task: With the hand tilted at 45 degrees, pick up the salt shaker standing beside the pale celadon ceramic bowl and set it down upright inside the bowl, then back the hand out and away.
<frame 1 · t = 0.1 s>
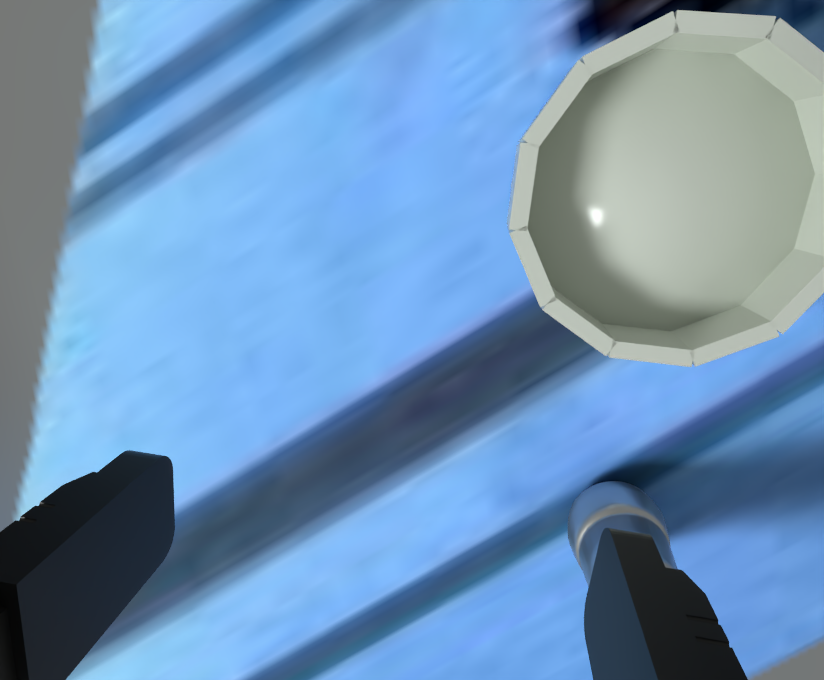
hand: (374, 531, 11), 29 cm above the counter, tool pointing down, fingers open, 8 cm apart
plastic bottle: (608, 509, 42), on the counter
bowl: (658, 198, 36), on the counter
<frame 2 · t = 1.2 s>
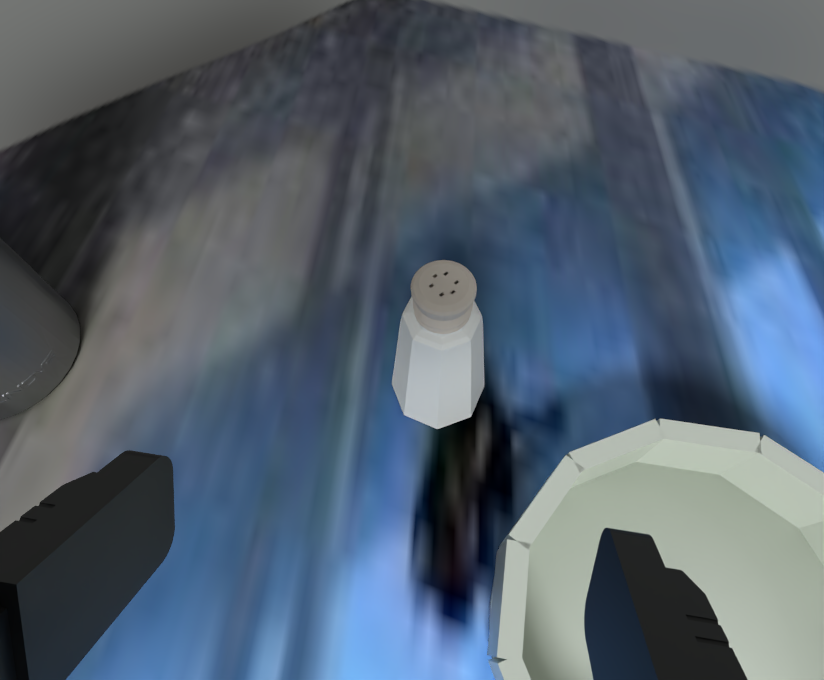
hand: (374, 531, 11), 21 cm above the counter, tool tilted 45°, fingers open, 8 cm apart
bowl: (676, 635, 28), on the counter
salt shaker: (437, 387, 34), on the counter
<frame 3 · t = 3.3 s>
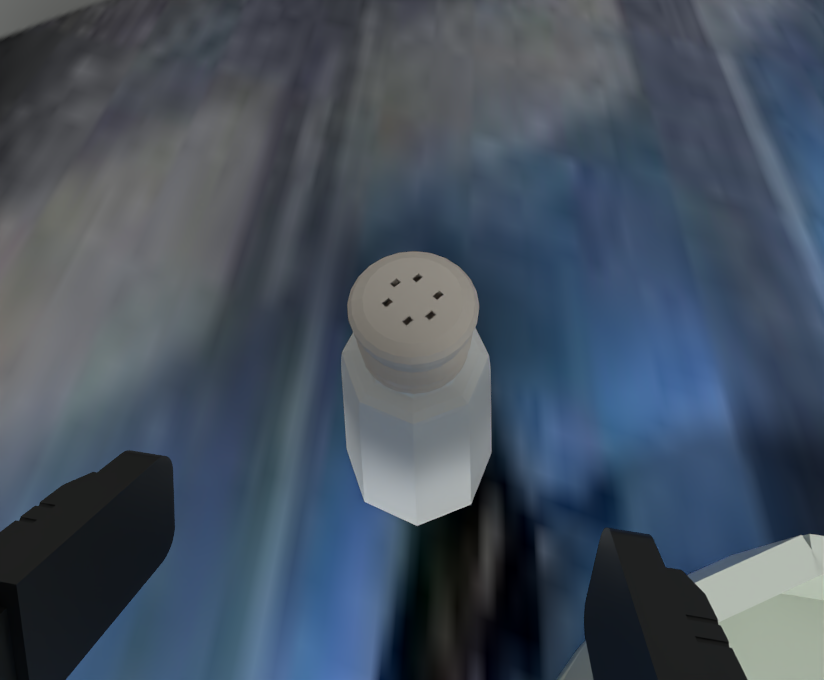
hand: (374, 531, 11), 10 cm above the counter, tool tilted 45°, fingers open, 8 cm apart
salt shaker: (418, 453, 22), on the counter
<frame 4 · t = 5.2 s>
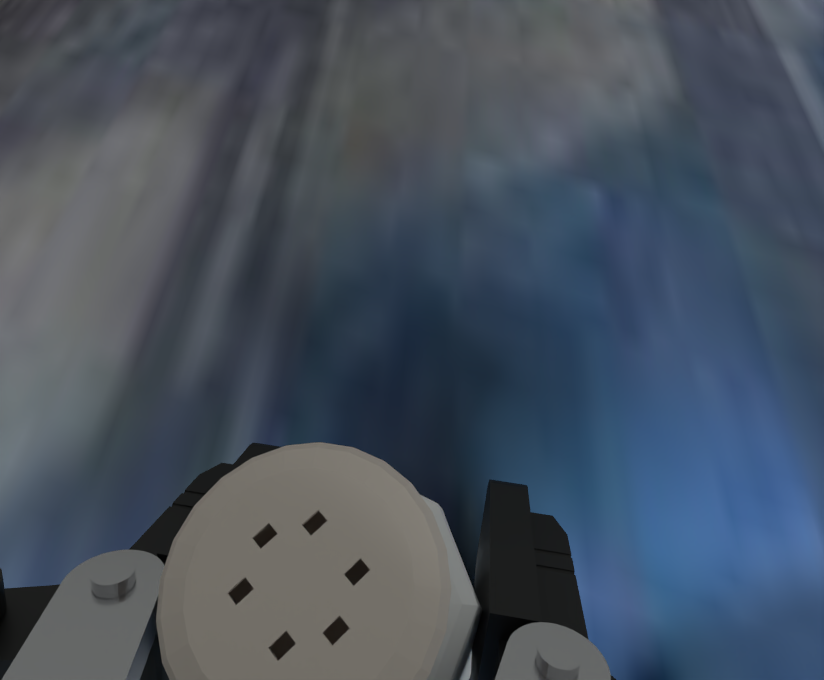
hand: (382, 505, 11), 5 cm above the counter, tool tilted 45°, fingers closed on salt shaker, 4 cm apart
salt shaker: (382, 622, 15), on the counter, touching gripper
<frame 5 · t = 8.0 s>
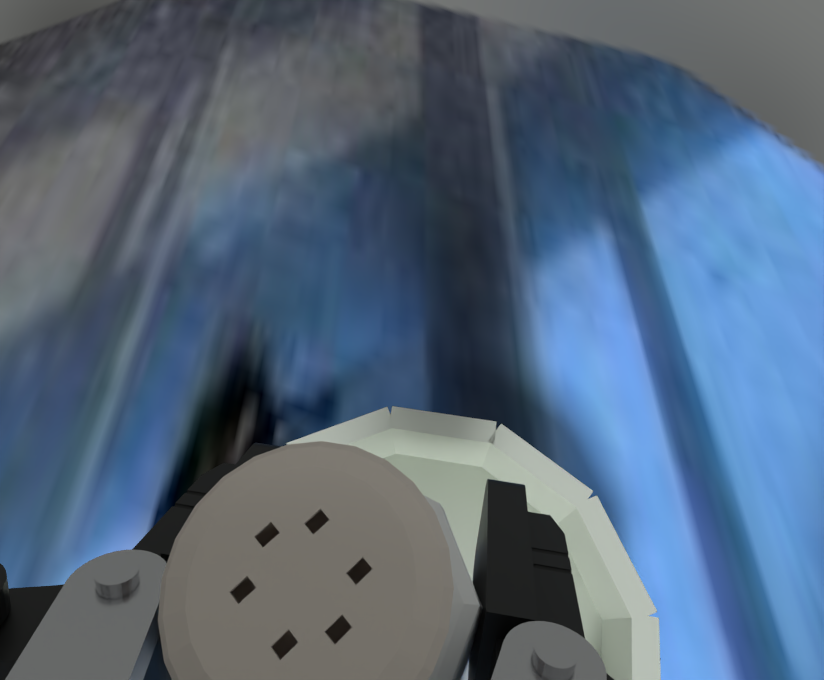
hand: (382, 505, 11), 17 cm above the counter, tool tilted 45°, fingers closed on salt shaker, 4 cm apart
bowl: (412, 641, 26), on the counter
salt shaker: (383, 622, 15), point 12 cm above the counter, touching gripper
when the fingers open (7 cm above the counter, at t = 10.3 s): salt shaker drops 1 cm, resting on bowl.
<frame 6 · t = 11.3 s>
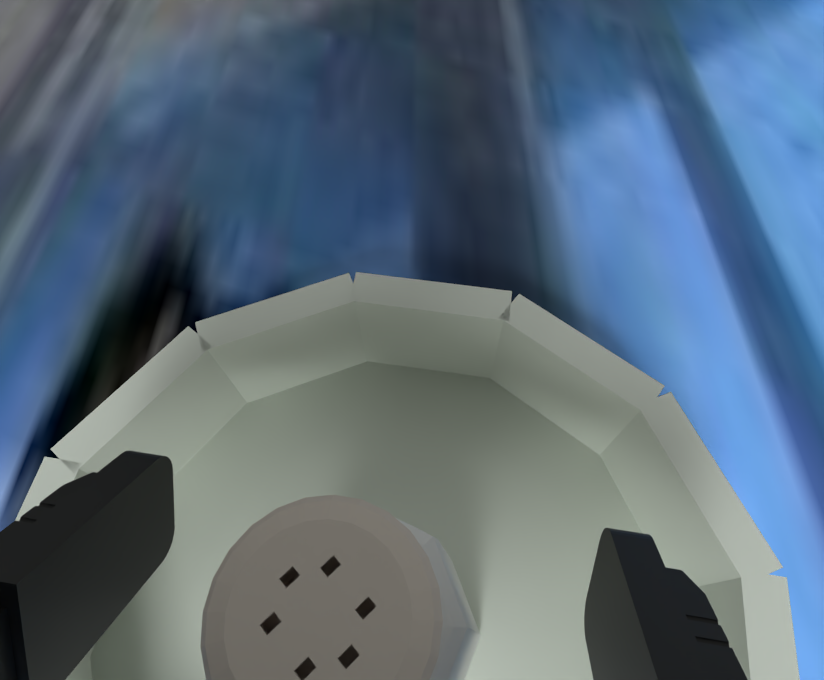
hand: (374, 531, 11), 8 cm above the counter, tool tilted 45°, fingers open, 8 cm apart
bowl: (388, 625, 17), on the counter
salt shaker: (383, 631, 16), point 1 cm above the counter, touching bowl
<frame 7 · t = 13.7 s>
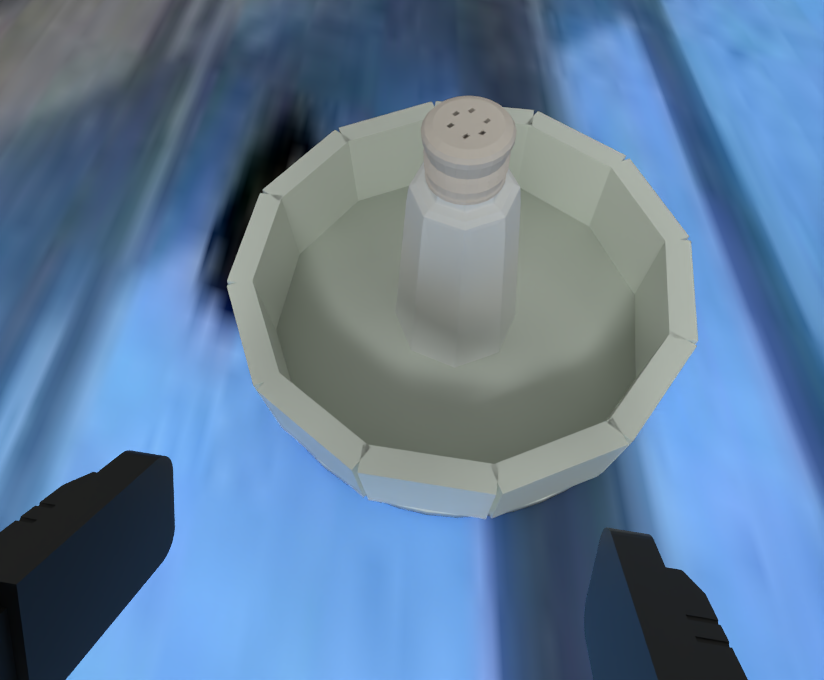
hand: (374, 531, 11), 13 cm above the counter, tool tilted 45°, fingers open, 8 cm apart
bowl: (455, 322, 28), on the counter
salt shaker: (454, 317, 27), point 1 cm above the counter, touching bowl
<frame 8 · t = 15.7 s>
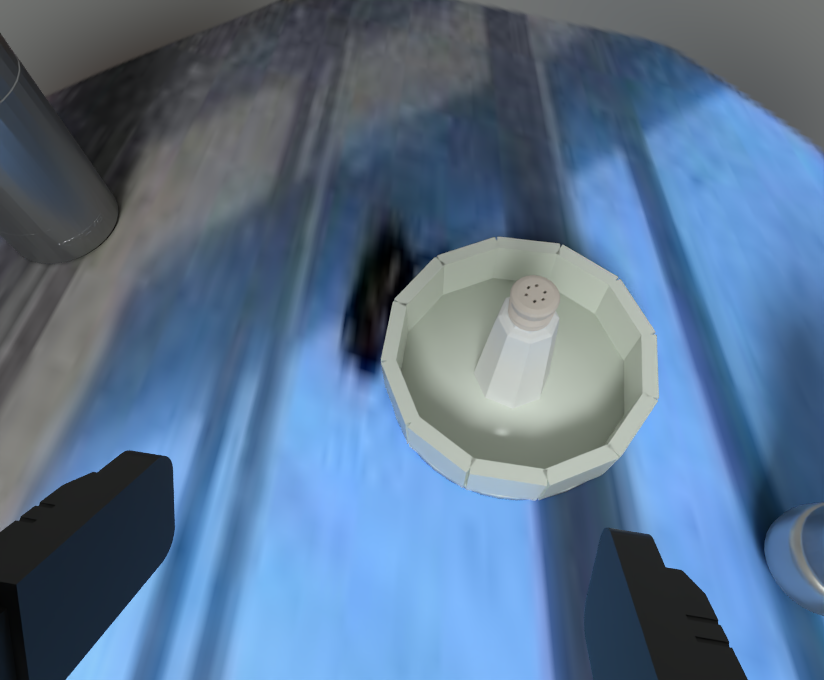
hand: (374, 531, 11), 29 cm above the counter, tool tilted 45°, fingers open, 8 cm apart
plastic bottle: (804, 565, 37), on the counter
bowl: (509, 377, 43), on the counter
salt shaker: (510, 375, 42), point 1 cm above the counter, touching bowl
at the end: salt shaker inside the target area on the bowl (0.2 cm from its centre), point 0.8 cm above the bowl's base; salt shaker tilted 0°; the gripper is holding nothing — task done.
